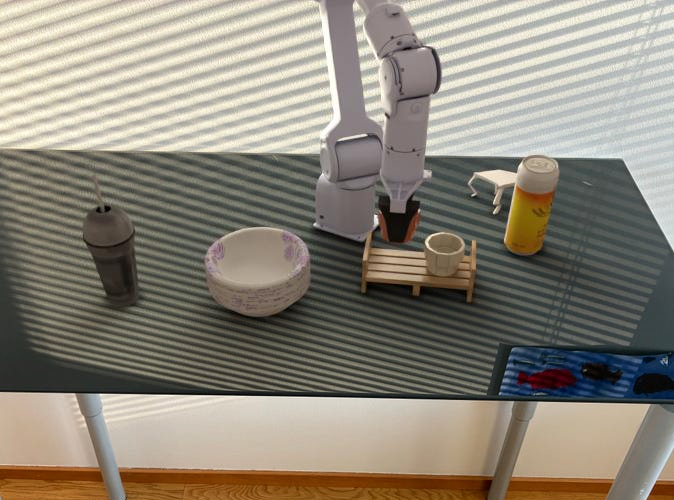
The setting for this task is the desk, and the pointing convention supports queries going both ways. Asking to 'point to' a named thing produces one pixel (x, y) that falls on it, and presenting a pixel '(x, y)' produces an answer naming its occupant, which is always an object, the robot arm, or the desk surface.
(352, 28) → the robot arm
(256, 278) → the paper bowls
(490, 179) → the white miniature table
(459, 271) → the bowl rack
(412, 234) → the terracotta bowl
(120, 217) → the beverage cup
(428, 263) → the cream bowl
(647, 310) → the desk surface
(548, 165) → the beer can
